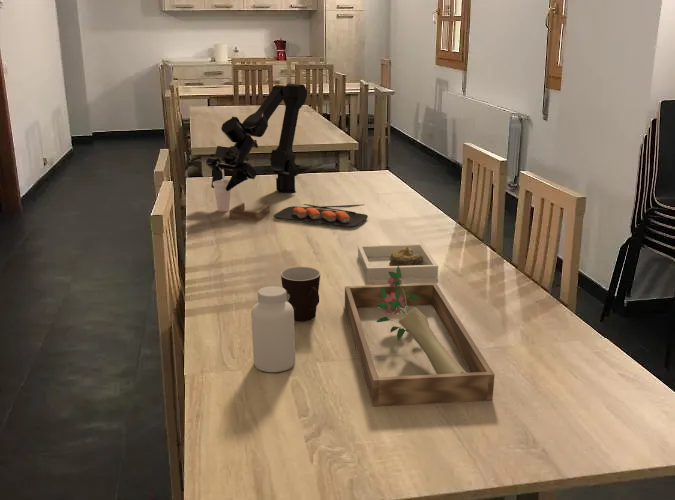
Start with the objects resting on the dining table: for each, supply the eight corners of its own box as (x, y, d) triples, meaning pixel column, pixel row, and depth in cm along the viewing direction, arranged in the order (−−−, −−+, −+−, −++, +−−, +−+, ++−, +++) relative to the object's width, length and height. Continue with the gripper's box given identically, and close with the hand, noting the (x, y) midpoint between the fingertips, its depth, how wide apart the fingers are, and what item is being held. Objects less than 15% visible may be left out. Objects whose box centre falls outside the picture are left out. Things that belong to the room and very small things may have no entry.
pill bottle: (271, 350, 141) (269, 280, 137) (303, 361, 137) (302, 289, 132) (244, 366, 135) (241, 293, 130) (277, 378, 131) (275, 302, 126)
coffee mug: (281, 308, 161) (280, 267, 158) (319, 307, 162) (319, 266, 159) (282, 330, 150) (280, 286, 147) (322, 329, 151) (322, 285, 148)
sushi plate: (270, 222, 228) (269, 210, 227) (308, 200, 255) (308, 189, 253) (354, 232, 218) (354, 220, 217) (385, 208, 244) (386, 197, 243)
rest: (241, 210, 239) (241, 202, 238) (269, 213, 236) (269, 204, 235) (229, 218, 230) (229, 210, 229) (258, 221, 227) (258, 212, 226)
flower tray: (435, 303, 164) (436, 283, 162) (492, 399, 124) (494, 374, 122) (344, 306, 162) (344, 286, 160) (372, 406, 122) (373, 380, 120)
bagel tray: (422, 254, 197) (422, 243, 196) (437, 277, 180) (438, 266, 179) (357, 256, 195) (358, 245, 194) (367, 279, 178) (367, 268, 177)
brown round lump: (401, 276, 183) (400, 257, 181) (381, 265, 191) (380, 246, 189) (433, 267, 187) (432, 248, 185) (412, 256, 195) (411, 238, 193)
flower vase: (432, 428, 129) (362, 316, 157) (492, 401, 131) (413, 295, 158) (423, 384, 122) (352, 275, 150) (487, 357, 124) (404, 254, 151)
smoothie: (229, 213, 236) (227, 171, 231) (211, 212, 237) (208, 170, 233) (235, 208, 242) (233, 167, 237) (217, 207, 243) (215, 166, 239)
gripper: (207, 133, 240) (185, 171, 235) (249, 139, 230) (227, 179, 225) (225, 153, 248) (204, 190, 243) (266, 159, 238) (245, 198, 233)
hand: (219, 188), depth 236 cm, fingers closed on smoothie, 6 cm apart
